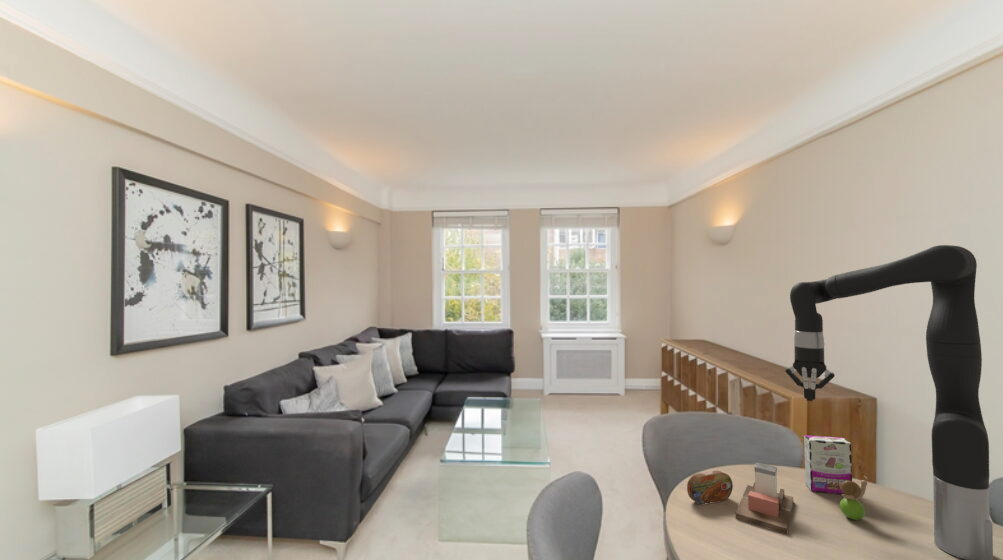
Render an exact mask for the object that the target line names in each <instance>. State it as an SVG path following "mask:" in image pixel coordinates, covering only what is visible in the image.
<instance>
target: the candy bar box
mask: <svg viewBox="0 0 1003 560" xmlns="http://www.w3.org/2000/svg"><path fill="white" fill-rule="evenodd" d="M803 442H804V447H803V448H804V471H805V472H804V475H805V486H806V487H807V488H808V490H810V491H811V492H813V493H823V494H830V495H841V496H842V494H844V493H843V492H842V490H841V485H842V483H843V482H845V481H853V468H852V443H851V442H850V441H848V440H847V439H846V438H845V437H835V436H819V435H806V434H803Z"/></svg>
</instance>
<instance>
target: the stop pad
mask: <svg viewBox="0 0 1003 560" xmlns="http://www.w3.org/2000/svg"><path fill="white" fill-rule="evenodd" d="M748 509H750V510H753V511H757V512H760V513H764V514H767V515H771V516H774V517H777V518H778V514H779V499H778V498H775V497H771V496H767V495H763V494H760V493H756V492H752V491H750V492H749V494H748Z"/></svg>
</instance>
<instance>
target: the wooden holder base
mask: <svg viewBox="0 0 1003 560" xmlns="http://www.w3.org/2000/svg"><path fill="white" fill-rule="evenodd" d="M750 491H752V492H755V481H754V482H753V485H752V486H751V485H749V484H748V485H746V488H745V490H744V492H743V494H742V497H741V499H740V500H739V501H740V502H739V504H738V507H737V508H736V511H735V519H737V520H740V521H743V522H747V523H750V524H752V525H756V526H759V527H762V528H765V529H769V530H771V531H776V532H779V533H780V534H781V533H782V534H784V535H785V534H786V535H788V533H789V526H790V521H791V517H792V510H793V506H794V496H791V495H788V494H787V495H786V494H785V489H784V488H780V490H779V492H777V498H778V499H779V514H778V518H777V517H774V516H771V515H767V514H764V513H760V512H757V511H753V510H750V509H748V494H749V492H750Z"/></svg>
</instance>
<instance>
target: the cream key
mask: <svg viewBox="0 0 1003 560" xmlns="http://www.w3.org/2000/svg"><path fill="white" fill-rule="evenodd" d="M777 468H778V467H777V466H773V465H771V464H770V465H769V464H765V463H760V462H756V463H755V465H754V482H755V492H756V493H760V494H763V495H767V496H771V497H775V498H777V493H778V482H777V481H778V479H777V475H778V474H777V472H778V471H777V470H778V469H777Z"/></svg>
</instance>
